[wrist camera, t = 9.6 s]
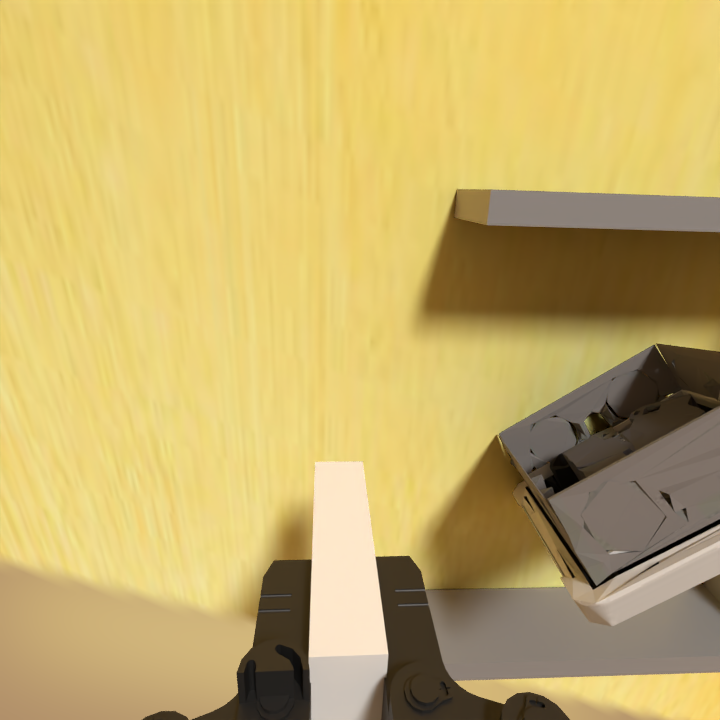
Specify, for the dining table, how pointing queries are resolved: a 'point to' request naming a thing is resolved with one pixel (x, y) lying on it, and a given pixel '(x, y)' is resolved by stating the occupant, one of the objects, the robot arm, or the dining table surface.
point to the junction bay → (555, 605)
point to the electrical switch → (628, 482)
